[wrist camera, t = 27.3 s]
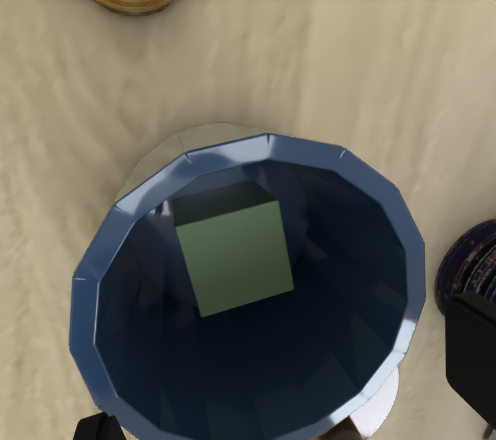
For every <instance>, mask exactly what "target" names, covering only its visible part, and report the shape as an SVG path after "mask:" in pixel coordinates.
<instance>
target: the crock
mask: <svg viewBox="0 0 496 440" xmlns="http://www.w3.org/2000/svg"><path fill="white" fill-rule="evenodd" d="M252 180H254V181H255V182H257V183H258V184H259V185H260V186H262V187H263V188H264V189H265V190H266V191H268V192H269V193H270V194H271V195H273V196H274V197H275V198H276V199H278V201H279V205H280V211H281V217H282V222H283V228H284V233H285V239H286V245H287V250H288V256H289V262H290V267H291V273H292V278H293V284H294V289H293V290H291V291H287V292H284V293H281V294H277V295H274V296H271V297H268V298H264V299H261V300H258V301H254V302H251V303H248V304H245V305H241V306H238V307H235V308H232V309H228V310H225V311H222V312H218V313H215V314H212V315H209V316H205V317H201V315H200V312H199V309H198V305H197V302H196V299H195V295H194V292H193V289H192V285H191V282H190V279H189V275H188V272H187V268H186V265H185V262H184V258H183V255H182V252H181V248H180V245H179V242H178V238H177V235H176V232H175V226H174V207H173V201H174V200H177V199H181V198H185V197H189V196H193V195H197V194H201V193H205V192H209V191H213V190H217V189H221V188H224V187H228V186H232V185H236V184H240V183H244V182H248V181H252ZM425 298H426V287H425V247H424V241H423V238H422V236H421V234H420V232H419V230H418V228H417V226H416V224H415V222H414V220H413V218H412V216H411V214H410V212H409V210H408V208H407V206H406V204H405V202H404V200H403V198H402V195H401V193H400V191H399V189H398V188H397V187H396V186H395V185H394V184H393V183H392V182H390V181H389V180H388V179H386V178H385V177H384V176H382V175H381V174H380V173H378V172H377V171H376V170H374V169H373V168H372V167H370V166H369V165H368V164H366V163H365V162H364V161H362V160H361V159H360V158H358V157H357V156H356V155H354V154H353V153H352V152H350V151H349V150H348V149H346V148H343V147H342V146H339V145H335V144H330V143H325V142H320V141H315V140H310V139H305V138H300V137H296V136H291V135H286V134H281V133H276V132H271V131H266V130H261V129H256V128H251V127H246V126H241V125H235V124H230V123H225V122H217V123H213V124H208V125H202V126H197V127H194V128H190V129H186V130H181V131H178V132H175V133H174V134H173V135H171V136H170V137H168V138H167V139H166V140H164V141H163V142H161V143H160V144H158V145H157V146H156V147H155V148H153V149H152V150H151V151H149V152H148V153H147V154H145V155H144V156H143V157H141V158H140V160H139V161H138V163H137V164H136V166H135V168H134V169H133V171H132V173H131V174H130V176H129V178H128V179H127V181H126V183H125V184H124V186H123V188H122V190H121V191H120V193H119V195H118V196H117V198H116V200H115V201H114V203H113V205H112V206H111V208H110V210H109V212H108V213H107V215H106V217H105V219H104V220H103V222H102V224H101V226H100V227H99V229H98V231H97V233H96V234H95V236H94V238H93V240H92V241H91V243H90V245H89V247H88V248H87V250H86V252H85V254H84V255H83V257H82V259H81V261H80V262H79V264H78V266H77V268H76V269H75V271H74V274H73V277H72V290H71V309H70V328H69V347H70V348H69V350H70V352H71V354H72V357H73V359H74V361H75V363H76V365H77V367H78V369H79V371H80V373H81V375H82V378H83V380H84V382H85V384H86V386H87V388H88V390H89V392H90V394H91V396H92V398H93V401H94V403H95V405H96V406H98V409H100V410H101V411H102V412H106V413H107V414H108V416H112V415H114V416H116V418H117V420H118V422H119V425H121V426H122V427H123V428H124V429H126V430H127V431H128V432H130V433H131V434H132V435H134V436H135V437H136V438H137V439H139V440H310V439H313V438H315V437H318V436H321V434H324V433H326V432H327V431H328V430H330V429H331V428H332V427H334V426H335V425H337V424H338V423H339V422H341V421H342V420H343V419H345V418H346V417H347V416H349V415H350V414H352V413H353V412H354V411H356V410H357V409H358V408H360V407H361V406H363V405H364V404H365V403H367V402H368V401H369V399H372V397H373V396H374V395H375V393H376V392H377V391H378V390H379V388H380V387H381V386H382V384H383V383H384V382H385V380H386V379H387V378H388V377H389V375H390V374H391V373H392V371H393V370H394V369H395V368H396V366H397V365H398V364H399V362H400V361H401V360H402V359H403V357H404V356H405V355H406V352H407V350H408V347H409V345H410V342H411V339H412V336H413V333H414V331H415V328H416V325H417V322H418V319H419V317H420V314H421V311H422V308H423V306H424V303H425Z"/></svg>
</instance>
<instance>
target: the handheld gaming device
mask: <svg viewBox="0 0 496 440" xmlns="http://www.w3.org/2000/svg"><path fill="white" fill-rule="evenodd" d="M489 440H496V430H495V429H494V430H493V432H492V434H491V436H490V438H489Z"/></svg>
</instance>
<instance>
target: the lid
mask: <svg viewBox="0 0 496 440" xmlns="http://www.w3.org/2000/svg"><path fill="white" fill-rule="evenodd" d="M398 385H399V371H398V365H397V366H396V368H395V369H394V370H393V371H392V373H391V374H390V375H389V377H388V378H387V379H386V380H385V382H384V383H383V384H382V386H381V387H380V388H379V390H378V391H377V392H376V393H375V395H374V396H373V397H372V399H369V401H368V402H367V403H365V404H364V405H363V406H361V407H360V408H358V409H357V410H356V411H354V412H353V413H352V414H350V415H349V416H347V417H346V418H345V419H343V420H342V421H341V422H339V423H338V424H337V425H335V426H334V427H332V428H331V429H330V430H328V431H327V432H326V433H324V434H321V436H318V437H315V438H313V439H310V440H367V439H368V438H369V437H370V436H371V435H372V434H373V433H374V432H375V431H376V430H377V429H378V428H379V427H380V425H381V424H382V423H383V421H384V420H385V418H386V417H387V415H388V413H389V412H390V410H391V408H392V406H393V403H394V401H395V398H396V395H397V391H398Z"/></svg>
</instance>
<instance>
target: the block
mask: <svg viewBox="0 0 496 440" xmlns="http://www.w3.org/2000/svg"><path fill="white" fill-rule="evenodd" d="M173 207H174V226H175V232H176V235H177V238H178V242H179V245H180V248H181V252H182V255H183V258H184V262H185V265H186V268H187V272H188V275H189V279H190V282H191V285H192V289H193V292H194V295H195V299H196V302H197V305H198V309H199V312H200V315H201V317H205V316H209V315H212V314H215V313H218V312H222V311H225V310H228V309H232V308H235V307H238V306H241V305H245V304H248V303H251V302H254V301H258V300H261V299H264V298H268V297H271V296H274V295H277V294H281V293H284V292H287V291H291V290H293V289H294V284H293V278H292V273H291V267H290V262H289V256H288V250H287V245H286V239H285V233H284V228H283V222H282V217H281V211H280V205H279V201H278V199H276V198H275V197H274V196H273V195H271V194H270V193H269V192H268V191H266V190H265V189H264V188H263V187H262V186H260V185H259V184H258V183H257V182H255V181H254V180H252V181H248V182H244V183H240V184H236V185H232V186H228V187H224V188H221V189H217V190H213V191H209V192H205V193H201V194H197V195H193V196H189V197H185V198H181V199H177V200H174V201H173Z"/></svg>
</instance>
